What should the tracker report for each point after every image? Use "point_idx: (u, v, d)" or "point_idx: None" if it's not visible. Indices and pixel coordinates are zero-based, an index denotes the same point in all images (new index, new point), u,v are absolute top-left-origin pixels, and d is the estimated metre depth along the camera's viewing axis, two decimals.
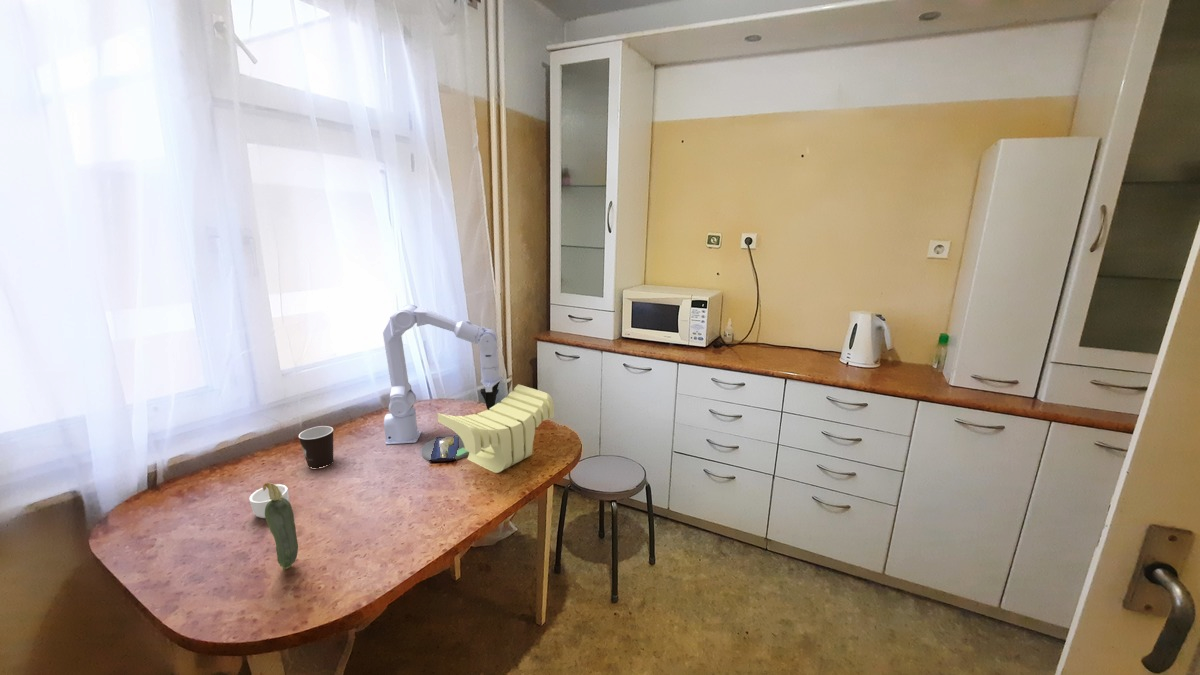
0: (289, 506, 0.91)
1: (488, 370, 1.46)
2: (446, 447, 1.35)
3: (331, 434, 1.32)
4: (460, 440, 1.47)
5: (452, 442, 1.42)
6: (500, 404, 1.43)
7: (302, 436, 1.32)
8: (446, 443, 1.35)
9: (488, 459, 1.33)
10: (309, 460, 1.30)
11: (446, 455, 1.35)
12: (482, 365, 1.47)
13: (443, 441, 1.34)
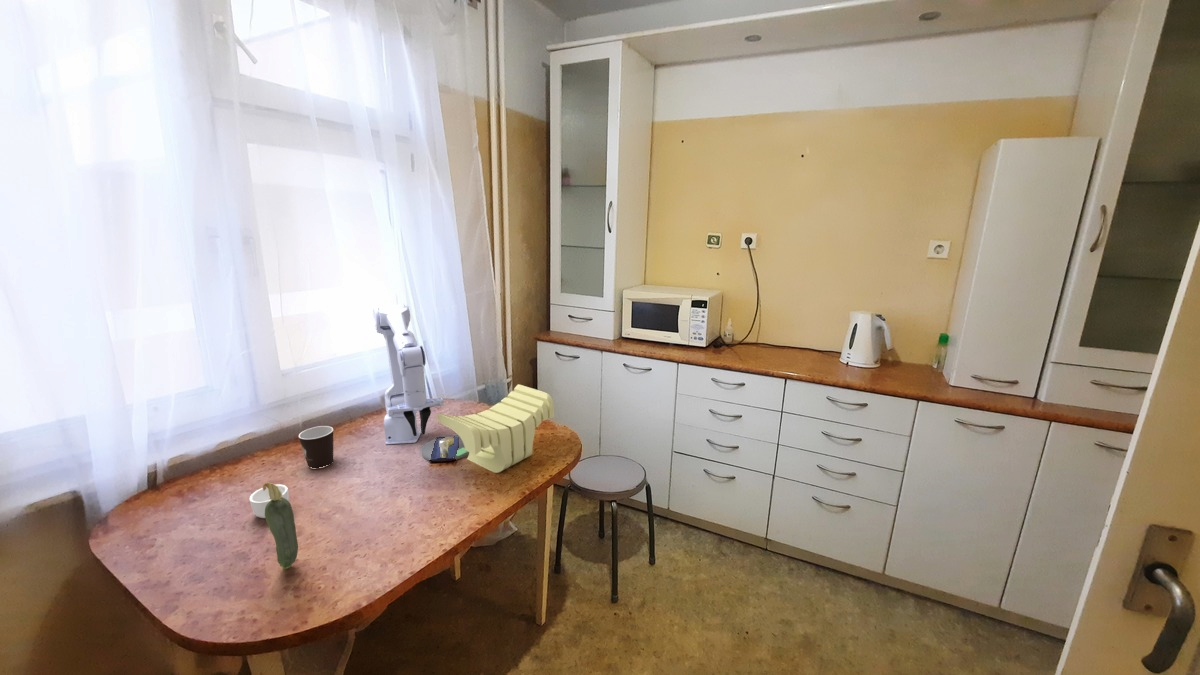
0: (289, 506, 0.91)
1: None
2: (446, 447, 1.35)
3: (331, 434, 1.32)
4: (460, 440, 1.47)
5: (452, 442, 1.42)
6: (500, 404, 1.43)
7: (302, 436, 1.32)
8: (446, 443, 1.35)
9: (488, 459, 1.33)
10: (309, 460, 1.30)
11: (446, 455, 1.35)
12: None
13: (443, 441, 1.34)
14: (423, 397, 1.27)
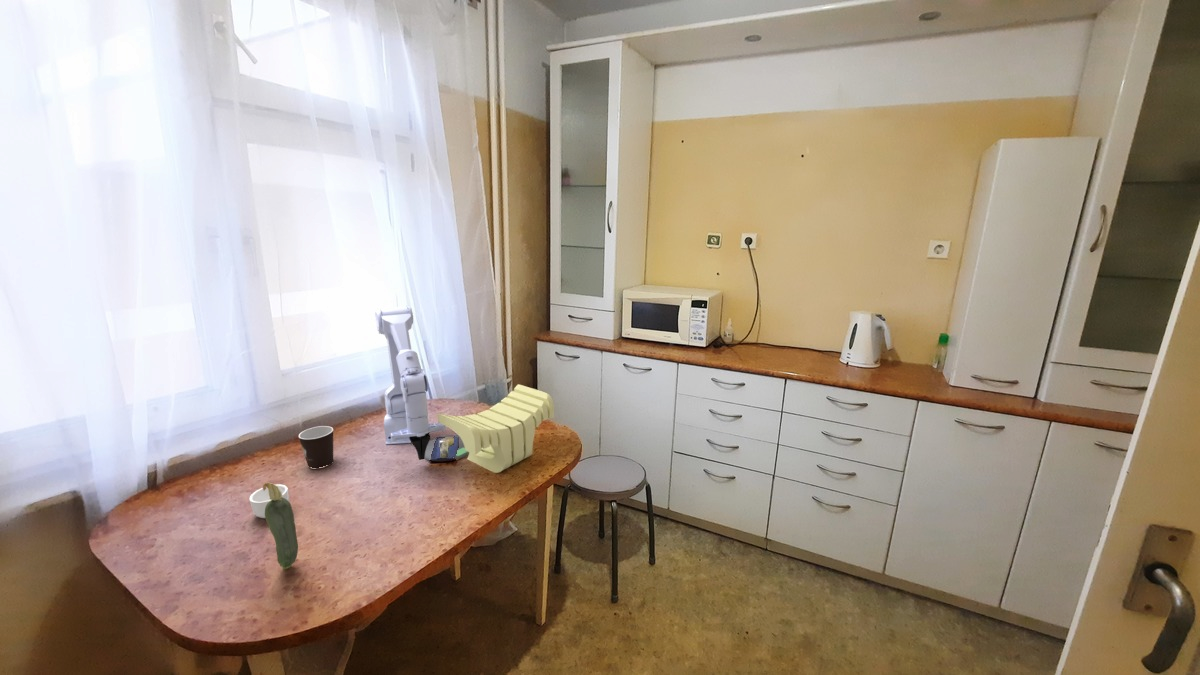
0: (289, 506, 0.91)
1: (406, 418, 1.28)
2: (446, 447, 1.35)
3: (331, 434, 1.32)
4: (460, 440, 1.47)
5: (452, 442, 1.42)
6: (500, 404, 1.43)
7: (302, 436, 1.32)
8: (446, 443, 1.35)
9: (488, 459, 1.33)
10: (309, 460, 1.30)
11: (446, 455, 1.35)
12: None
13: (443, 441, 1.34)
14: (426, 423, 1.29)
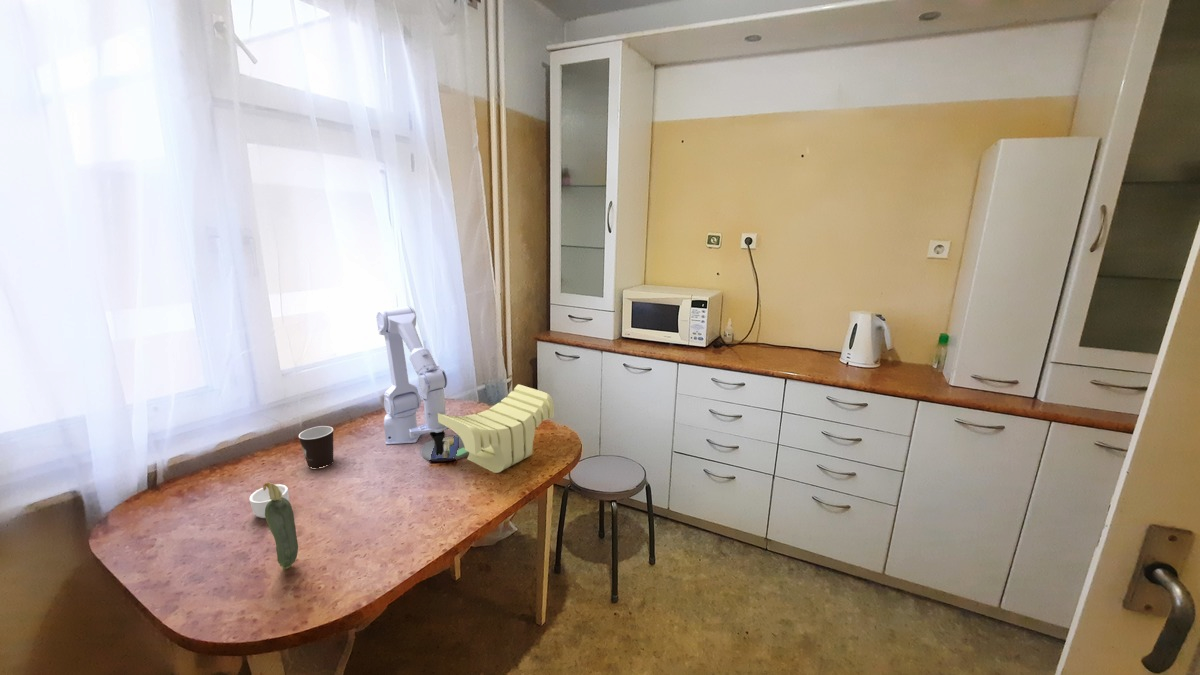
0: (289, 506, 0.91)
1: None
2: (447, 447, 1.35)
3: (331, 434, 1.32)
4: (460, 440, 1.47)
5: (452, 442, 1.42)
6: (500, 404, 1.43)
7: (302, 436, 1.32)
8: (447, 443, 1.35)
9: (488, 459, 1.33)
10: (309, 460, 1.30)
11: (448, 455, 1.35)
12: None
13: (444, 441, 1.34)
14: None
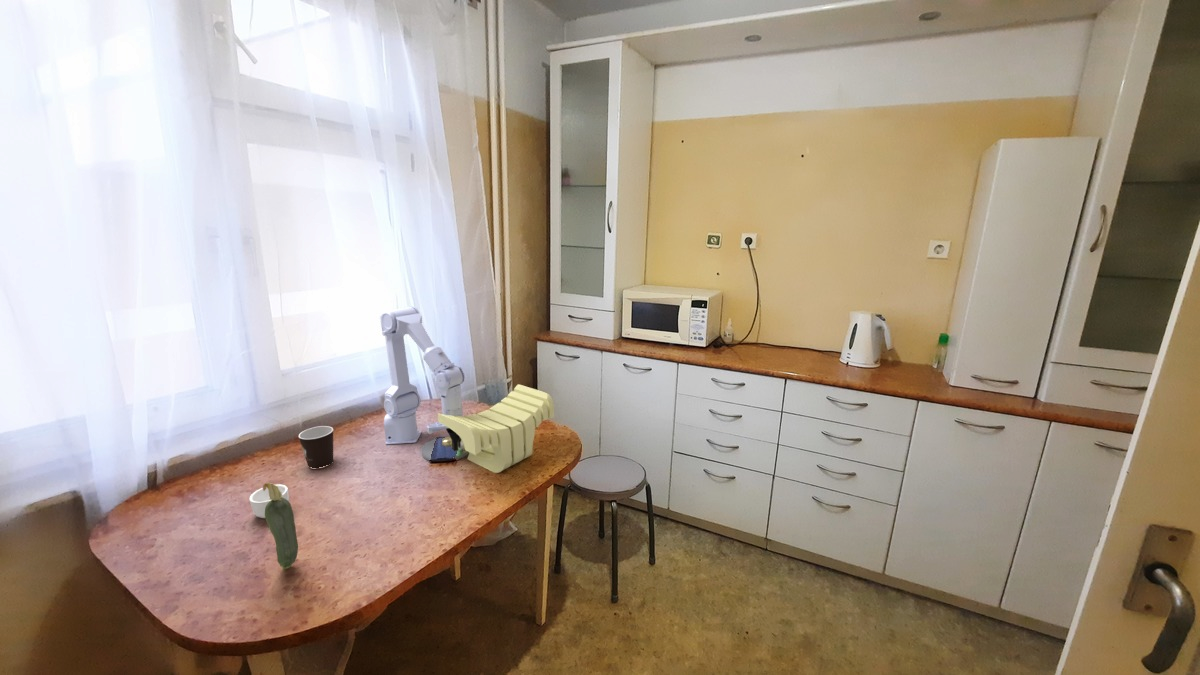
0: (289, 506, 0.91)
1: (442, 410, 1.33)
2: None
3: (331, 434, 1.32)
4: None
5: None
6: (500, 404, 1.43)
7: (302, 436, 1.32)
8: None
9: (488, 459, 1.33)
10: (309, 460, 1.30)
11: None
12: None
13: None
14: (461, 415, 1.34)
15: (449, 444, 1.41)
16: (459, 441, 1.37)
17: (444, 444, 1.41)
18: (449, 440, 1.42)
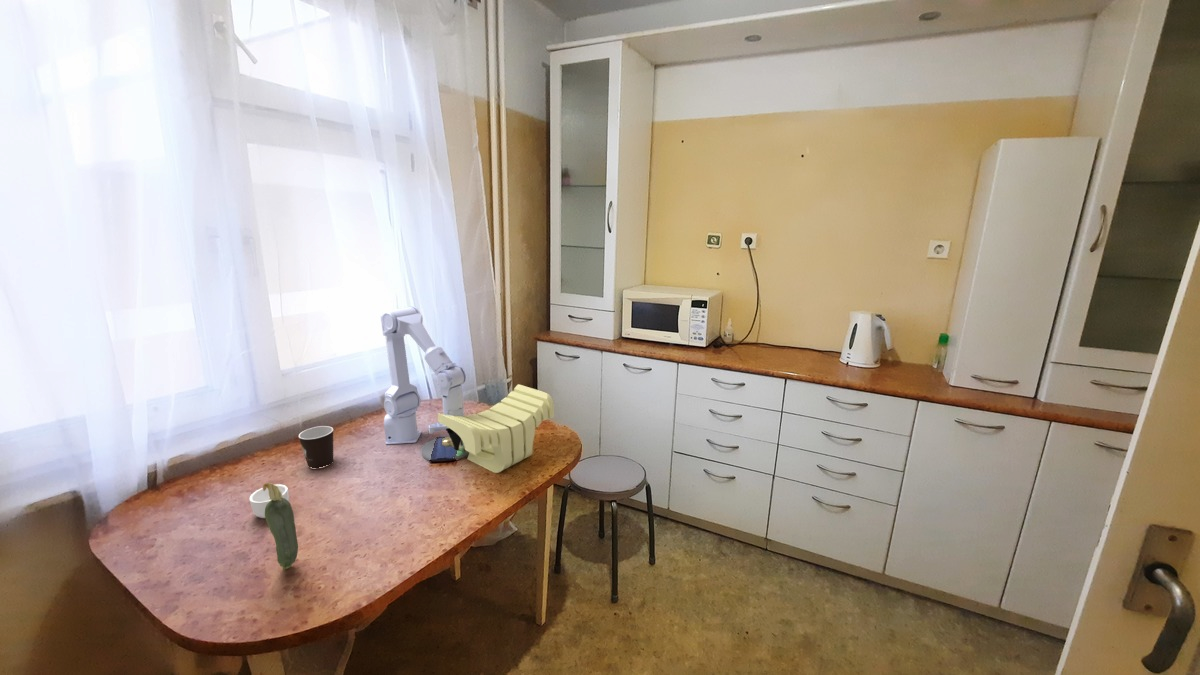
0: (289, 506, 0.90)
1: (443, 410, 1.33)
2: None
3: (331, 434, 1.32)
4: None
5: None
6: (500, 404, 1.43)
7: (302, 436, 1.32)
8: None
9: (488, 459, 1.33)
10: (309, 460, 1.30)
11: None
12: None
13: None
14: (462, 415, 1.34)
15: (450, 444, 1.41)
16: None
17: (445, 444, 1.41)
18: (449, 440, 1.42)
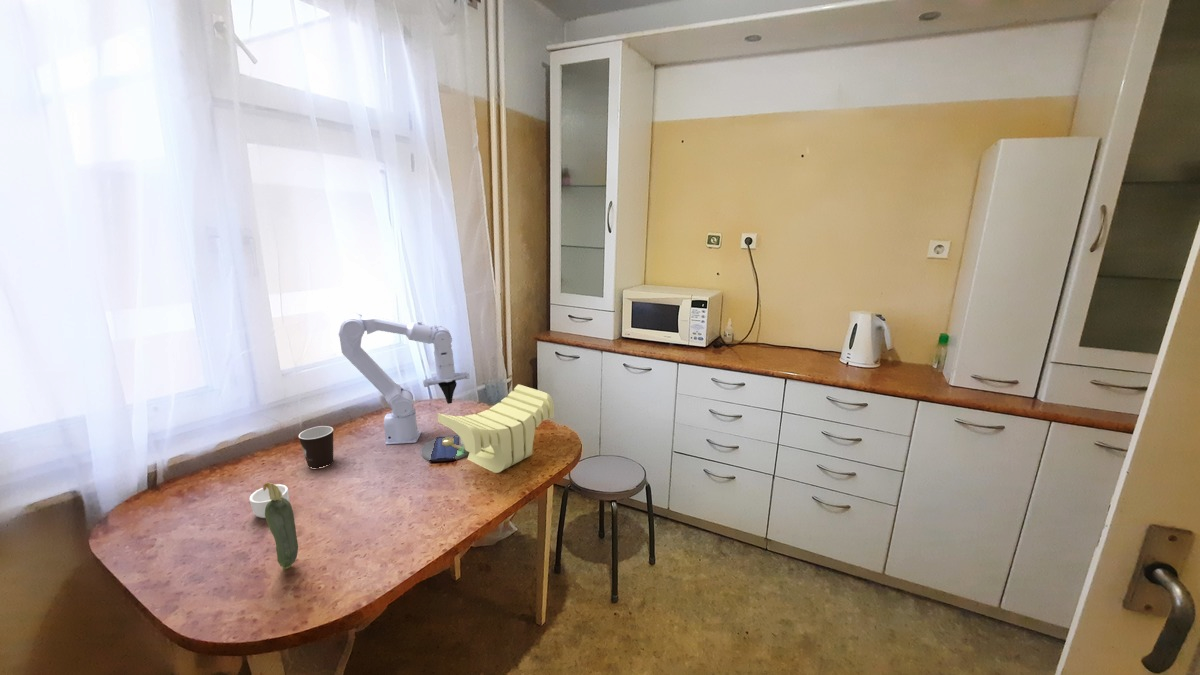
0: (289, 506, 0.91)
1: None
2: None
3: (331, 434, 1.32)
4: None
5: (453, 440, 1.43)
6: (500, 404, 1.43)
7: (302, 436, 1.32)
8: None
9: (488, 459, 1.33)
10: (309, 460, 1.30)
11: None
12: (438, 363, 1.47)
13: None
14: (452, 371, 1.50)
15: (450, 444, 1.41)
16: None
17: (445, 444, 1.41)
18: (449, 440, 1.42)
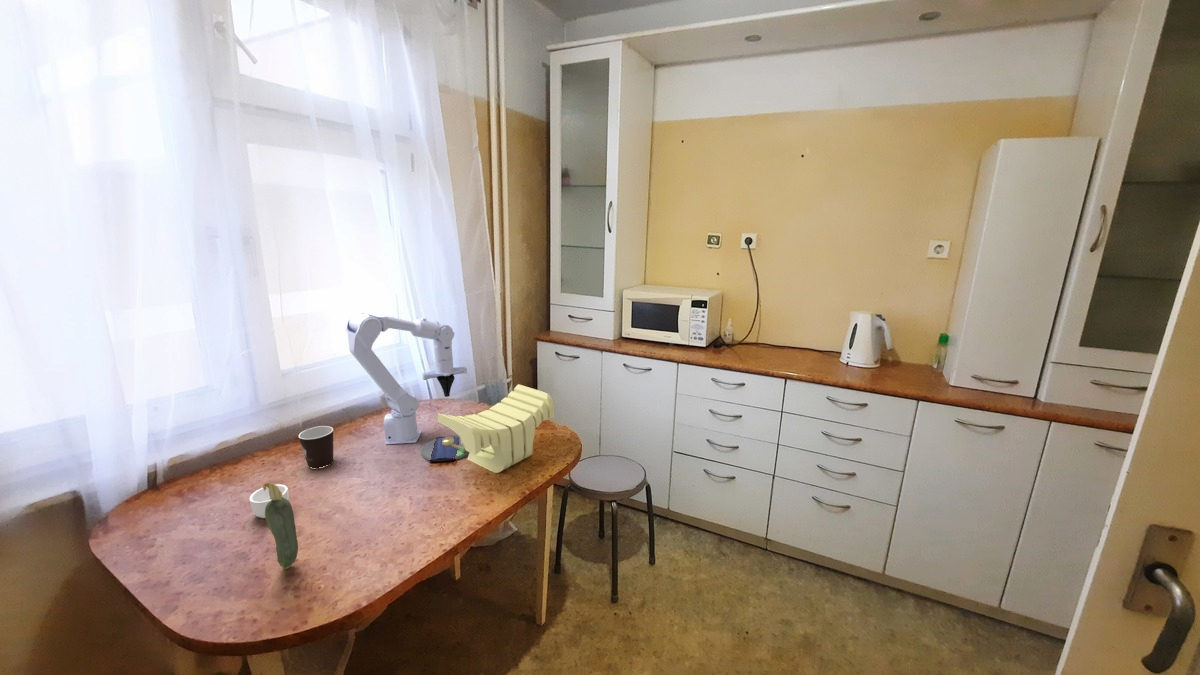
0: (289, 506, 0.91)
1: (435, 361, 1.55)
2: None
3: (331, 434, 1.32)
4: None
5: (453, 440, 1.43)
6: (500, 404, 1.43)
7: (302, 436, 1.32)
8: None
9: (488, 459, 1.33)
10: (309, 460, 1.30)
11: None
12: (441, 358, 1.53)
13: None
14: (451, 365, 1.56)
15: (450, 444, 1.41)
16: None
17: (445, 444, 1.41)
18: (449, 440, 1.42)
